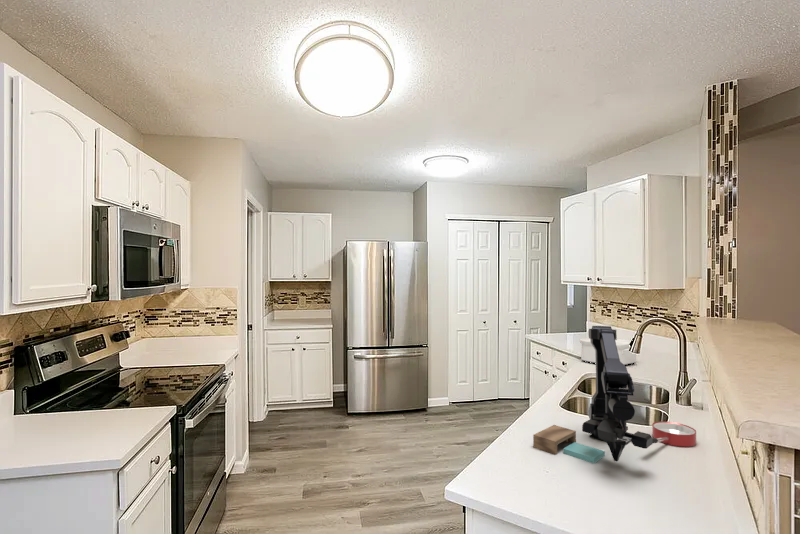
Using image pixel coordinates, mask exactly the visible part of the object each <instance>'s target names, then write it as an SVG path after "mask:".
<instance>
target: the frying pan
mask: <svg viewBox="0 0 800 534" xmlns="http://www.w3.org/2000/svg"><path fill="white" fill-rule="evenodd" d="M651 429H652V431H651V432H652V435H651V436H652V438H653V444H656V443H658V442H659V443H661V444H664V445H668V446H672V447H679V448H690V447H694V446H696V445H697V430H696V429H695V428H694V427H691V426H689V425H686V424H683V423H679V422H674V421H654V422H653V423H652V427H651Z"/></svg>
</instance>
